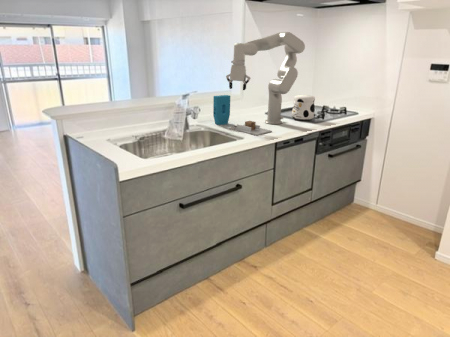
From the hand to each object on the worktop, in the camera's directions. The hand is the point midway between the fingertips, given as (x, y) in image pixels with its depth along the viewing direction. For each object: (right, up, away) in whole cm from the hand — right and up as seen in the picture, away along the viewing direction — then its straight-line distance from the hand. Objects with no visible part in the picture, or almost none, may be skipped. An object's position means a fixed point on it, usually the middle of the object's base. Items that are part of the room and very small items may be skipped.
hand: (237, 89), depth 227 cm
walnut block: (+8, -27, -2) cm, 29 cm away
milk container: (+53, -15, +37) cm, 66 cm away
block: (-11, -21, +16) cm, 29 cm away
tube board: (+9, -28, -2) cm, 29 cm away
